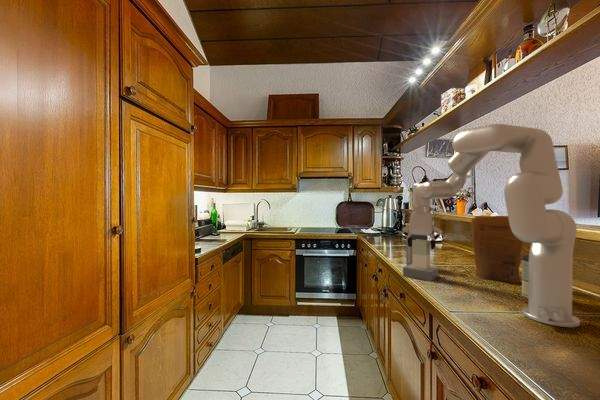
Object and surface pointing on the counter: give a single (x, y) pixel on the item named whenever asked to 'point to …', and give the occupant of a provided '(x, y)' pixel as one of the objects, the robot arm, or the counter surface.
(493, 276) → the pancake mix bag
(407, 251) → the liquor
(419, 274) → the pedestal
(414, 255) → the cream block
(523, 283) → the coffee can
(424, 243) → the sage block
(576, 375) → the counter surface
